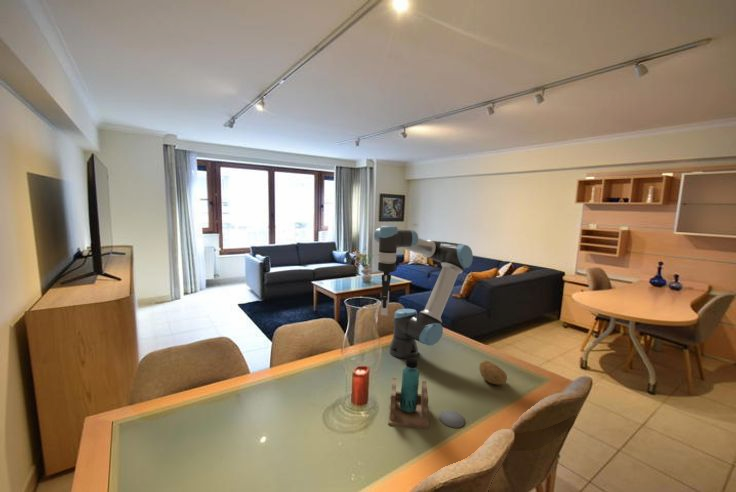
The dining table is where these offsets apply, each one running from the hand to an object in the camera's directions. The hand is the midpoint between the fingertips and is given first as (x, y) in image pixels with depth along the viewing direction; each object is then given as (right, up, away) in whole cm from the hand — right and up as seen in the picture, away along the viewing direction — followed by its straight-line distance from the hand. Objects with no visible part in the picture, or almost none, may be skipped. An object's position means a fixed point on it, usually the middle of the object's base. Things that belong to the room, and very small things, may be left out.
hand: (384, 309), depth 140 cm
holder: (+8, -35, -20) cm, 41 cm away
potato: (+49, -34, +4) cm, 59 cm away
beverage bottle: (+8, -34, -20) cm, 40 cm away
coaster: (+23, -36, -23) cm, 48 cm away
